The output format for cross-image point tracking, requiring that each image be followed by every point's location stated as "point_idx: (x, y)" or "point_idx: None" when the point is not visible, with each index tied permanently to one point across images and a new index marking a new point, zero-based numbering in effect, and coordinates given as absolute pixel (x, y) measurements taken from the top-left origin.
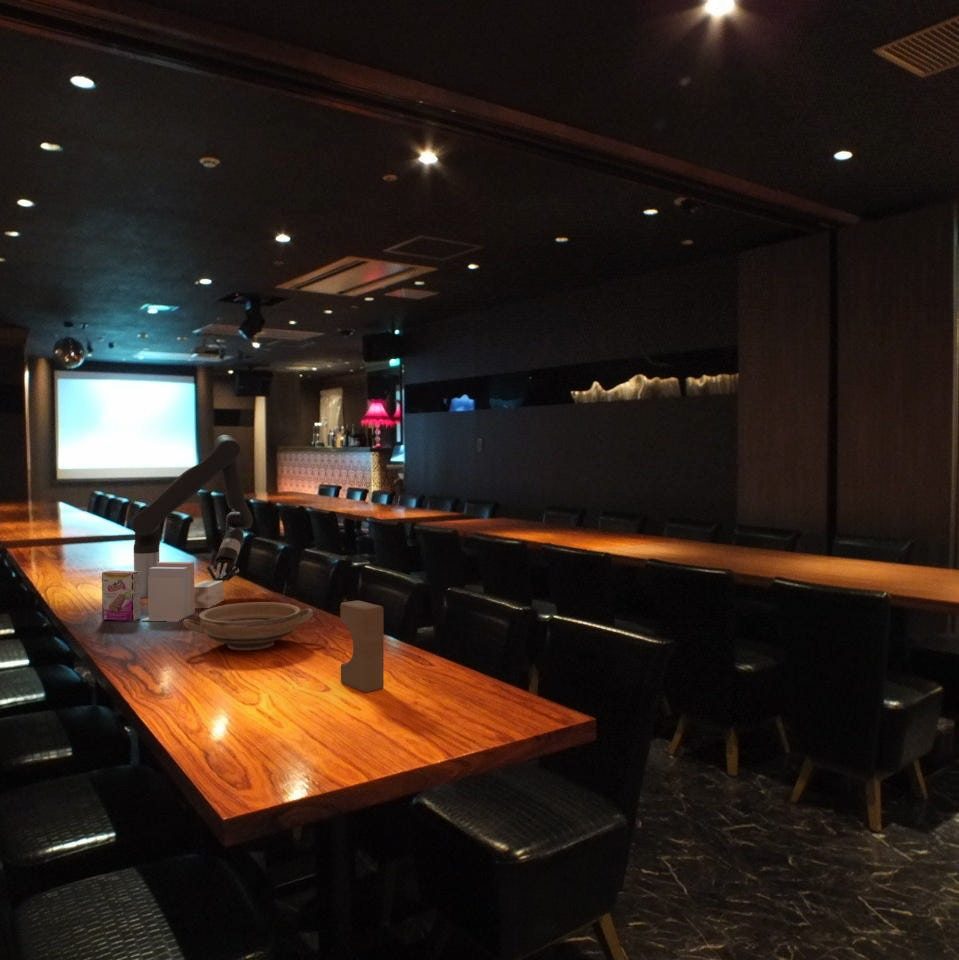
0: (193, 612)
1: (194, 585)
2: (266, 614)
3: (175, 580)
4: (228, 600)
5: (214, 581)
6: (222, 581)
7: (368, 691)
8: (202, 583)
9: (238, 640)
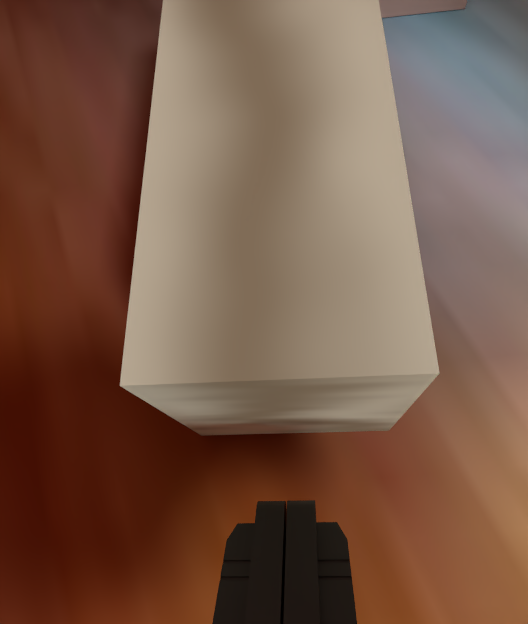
0: None
1: (359, 28)
2: None
3: None
4: (163, 492)
5: (231, 309)
6: (124, 371)
7: None
8: (331, 144)
9: None
